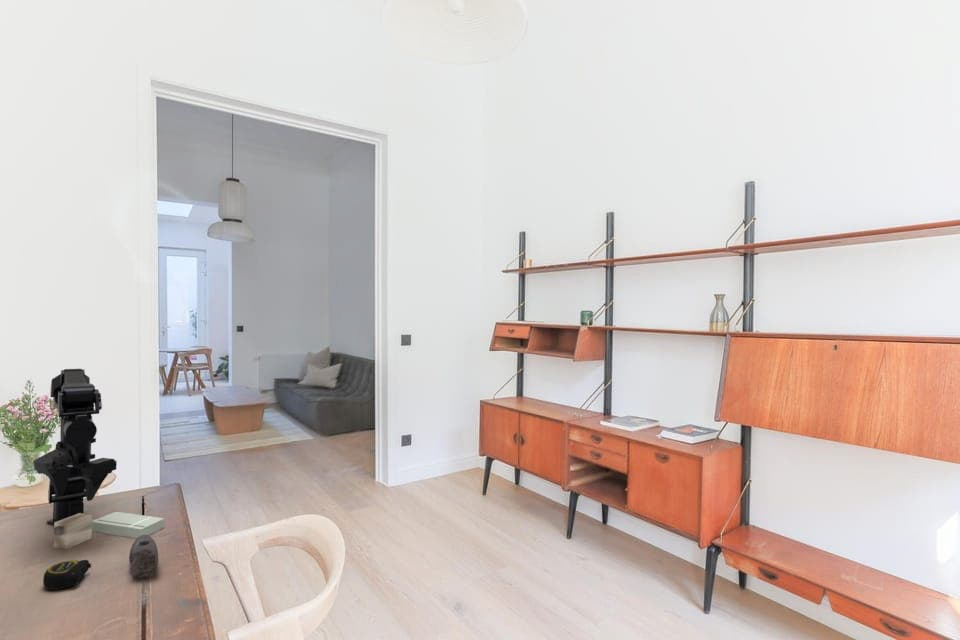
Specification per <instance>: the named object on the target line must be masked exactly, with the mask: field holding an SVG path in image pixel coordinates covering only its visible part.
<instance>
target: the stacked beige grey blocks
mask: <svg viewBox="0 0 960 640" xmlns="http://www.w3.org/2000/svg"><path fill="white" fill-rule="evenodd" d="M92 521H93V514H90V513H89V514H88V513H84V514H82V513H79V514H76V515H73V516H71V517H68V518H65V519H62V520H60V521H57V522H55V524H53V526H54V527H53V548H59V549H64V550H68V549H70V548H72V547H74V546H77V545H80V544H82V543H84V542H86V541H88V540H91V539H92V533H93V532H92Z"/></svg>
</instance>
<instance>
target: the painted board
mask: <svg viewBox="0 0 960 640" xmlns="http://www.w3.org/2000/svg"><path fill="white" fill-rule="evenodd" d="M162 529H165V518H163V517H156V516H150V515H149V516H148V515H144V514H143V515H142V514H137V513H136V514H135V513H128V512H121V511H115V512H112V513H108V514H106V515H105V516H101V517H99V518H97V519H94V520H92V533H99V534H105V535H112V536H118V537H119V536H120V537H125V538H132V539H137V538H138V537H139V536H141V535H148V536H150V535H152V534H154V533H156V532H158V531H160V530H162Z"/></svg>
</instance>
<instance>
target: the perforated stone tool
mask: <svg viewBox="0 0 960 640" xmlns="http://www.w3.org/2000/svg"><path fill="white" fill-rule="evenodd" d="M128 560H129V565H130V567H129V569H130V573H131V575H132V576H133V577H134V578H136V579H137V578H139V579H142V578H149V577H152V576H153V575H154V574H155V573H156V571H157V569H158V565H159V552H158V546H157V543H156V541H155V540H154V539H153V537H152V536H150V535H141V536H139V537H138V538H135V540H134V542H133V543H132V545H131V547H130V549H129V557H128Z"/></svg>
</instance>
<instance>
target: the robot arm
mask: <svg viewBox="0 0 960 640" xmlns="http://www.w3.org/2000/svg"><path fill="white" fill-rule="evenodd" d="M90 379H91V378H90V376H88V375H86V371H85V369H82V368H65V369H61V370H60V374H59V375H56V376H54V377H53V378H51V381H50V394H49V395H50V398H53V405H54V407H55V408H56V409H57V412H58V415H57V416H58V417H59V418H60V427H59V428H60V432H59V433H60V439H59V440H60V441H56V444H55V449H54V450H51V451H49V452H47V453H44V454H43V455H41V456H39V457H37V458H36V459H35V460H33V465H34V467H33V468H34V469H33V470H36V473H37V474H39V475H41V474H43V475H45V476H46V477H48V479H49V483H48V489H47V490H48V495H47V498H48V499H47V501H48V505H50V504H53V506H52V507H53V508H52V511H53V512H52V519H49V520H47V521H46V524H49V525H50V524H51V525H54V524H55V522H57V521H60V520H62V519H65V518H68V517H71V516H73V515H76V514H79V513H82V514H85V512H84V509H85V503H84V498H86V501H87V502H90V501H92V500H94V498H95V496H96V494H97V493H98V491H99V489H100V487H101V486H102V485H103V483H104V481H105V480H106V478H107V476H108V475H109V474H111V473H113V471H115V470H117V465H118V464H117V462H118V461H117V460H116V459H114V458H110V457H109V458H107V457H101V458H96V454H95V453H92V444H94V443H96V441H97V438H96V435H97V432H98V428H97V425H96V424H95V423H94V420H93V415H97V414H98V415H99V414H100V411H101V410H102V408H103V405H102V396H101V395H102V394H101V392H100V391H99V389H96V386H95V384H93V383H91V381H90Z"/></svg>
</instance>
